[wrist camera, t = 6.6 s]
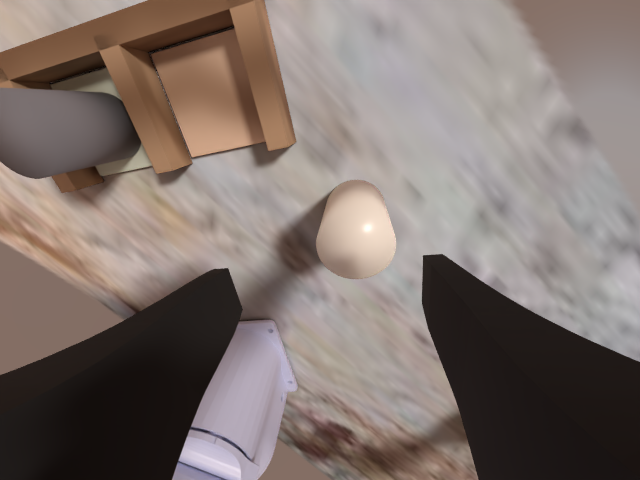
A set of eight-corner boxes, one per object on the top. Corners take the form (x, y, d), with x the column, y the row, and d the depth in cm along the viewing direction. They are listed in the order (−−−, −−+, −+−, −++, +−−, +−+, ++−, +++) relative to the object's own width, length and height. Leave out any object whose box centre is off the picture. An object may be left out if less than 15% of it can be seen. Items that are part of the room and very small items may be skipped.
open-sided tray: (296, 141, 17) (288, 146, 15) (90, 184, 20) (62, 192, 18) (260, -15, 13) (245, -35, 12) (22, 65, 17) (-23, 60, 15)
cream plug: (387, 230, 19) (398, 275, 14) (331, 238, 20) (324, 282, 15) (381, 174, 17) (392, 202, 12) (321, 185, 18) (308, 215, 13)
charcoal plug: (107, 165, 19) (18, 187, 14) (69, 104, 17) (-47, 104, 12) (152, 149, 18) (74, 166, 13) (117, 82, 16) (11, 73, 11)
